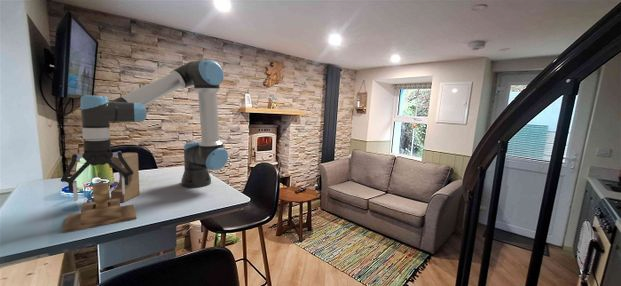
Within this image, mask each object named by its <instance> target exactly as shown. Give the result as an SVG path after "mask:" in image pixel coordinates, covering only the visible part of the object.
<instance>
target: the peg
mask: <svg viewBox="0 0 621 286" xmlns="http://www.w3.org/2000/svg"><path fill="white" fill-rule="evenodd" d="M92 192H93V193H92V195H93V202H96V208H103V207H108V202H107V200H110V194H109V193H110V192H109V183H108V182H98V183H94V184H92Z"/></svg>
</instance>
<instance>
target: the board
mask: <svg viewBox="0 0 621 286" xmlns="http://www.w3.org/2000/svg"><path fill="white" fill-rule="evenodd" d="M107 202H108V207H103V208H96V202H94V201H90V202H84V203H82V206H81V210H80V212H78V213H71V214H67V216H66V218H65V219H66V220H65V222H64V224H63V228H62V233H63V234H64V233H68V232H75V231H79V230H86V229H91V228H96V227H100V226H107V225H110V224H111V225H113V224H117V223H122V222H126V221H127V222H128V221H132V220H137V214H136V210H135V206H134V204H129V205H123V206H122V205H121V202H120V198H118V199H109V200H107Z"/></svg>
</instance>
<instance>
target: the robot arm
mask: <svg viewBox="0 0 621 286" xmlns="http://www.w3.org/2000/svg"><path fill="white" fill-rule="evenodd" d="M224 78H225V75H224V70H223V68H222V66H221V65H220V64H219V63H218V62H217V61H215V60H212V59H202V60H192V61H189V62H186V63H184V64H182V65H180V66H178V67H177V68H174V69H173V70H172V69H171V71H169V74H167V75H165V76H162V77H161V78H158V79H156V80H154V81H152V82H149V83H147V84H145V85H143V86H140V87H139V88H136V89H134V90H132V91H129V92H127V93H125V94H124V95H121V96H120V97H119V96H118V97H117V98H114V99H112V100H109V97H108V96H105V95H89V94H88V95H85V94H84V95H82V96H81V97H80V115H81V124H82V125H81V126H82V127H81V130H82V139H83V142H82V143H83V153H73V154H72V155H71V161H70V163H69V165H68V167H66V169H65V172H64V173H63V175H62V177H61V178H60V182H62V183H67V185H68V191H69V192H70V193H71V192H73V202H77V201H78V199H79V197H78V196H79V195H78V184H77V180H76V179H77V178H78V177H79V176H80V175H81V174H82V173H83V172H85V170H86V169H87V168H88V167H89V166H104V165H106V164H107V165H108V166H109V165H110V166H111V167H113V168H112V169H114V170H115V171H117V172H118V174H119V173H120V174H122V175H123V176H122V193H123V194H125V185H128V176H130V175H133V171H132V169H131V168H130V166H129V165H128V164H127V162H126V161H125V159H124V158H123V157H122V154H123V153H122V151H121V150H118V151H115V152H114V151H113V152H112V146H111V145H112V144H111V143H112V141H111V139H110V138H111V128H110V127H111V124H110V123H140V122H144V121H145V120H146V118H147V108H146V106H148V105H149V104H152V103H153V102H155V101H157V100H159V99H161V98H163V97H165V96H167V95H168V94H171V93H173V92H175V91H177V90H179V89H180V90H184V89H186V88H189V87H192V86H193V89H194V90H195V92H197V96H198V109H199V112H198V113H199V122H200V123H199V124H200V136H201V140H200V141H195V142H186V143H184V145H183V159H184V161H183V163H184V169H183V170H184V172H183V174H182V178H181V180H180V182H181V183H180V185H181V186H182V187H185V188H201V187H206V186H208V185H210V184H212V177H211V175H210V171H219V170H221V169H223V168H224V167H225V166H226V164H227V163H228V161H229V153H228V151H227V150H226V148H224V142H223V141H222V140H221V138H220V126H219V125H220V124H219V122H220V121H219V108H218V91H219V90H220V88H221V87H220V85H221V84H222V83H223V81H224ZM112 156H116V158H119V160H120V161H121V163H122V164H123V165H124V167H125V168H126V169H127V171H128V172H125V171H124V170H123V169H121V168H120V167H119V166H118V165H116V164H115V163H114V162H113V161H112V160H110V159H111V158H112ZM81 159H84V160H85V162H84V163H83V164H82V165H81V166H80V168H78V169H77V170H76V171H75V172H74V173H73V174H72V175H71V176H70V177H68V176H69V175H70V173H71V172H72V170H73V168H74V167H75V165H76V163H77V161H80V160H81ZM209 170H210V171H209Z"/></svg>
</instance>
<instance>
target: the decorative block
mask: <svg viewBox="0 0 621 286" xmlns="http://www.w3.org/2000/svg"><path fill="white" fill-rule="evenodd" d="M122 157H123V158H124V159H125V161H126V162H127V164H128V165H129V166H130V168H131V169H132V171H133V175H130V176H128V185H125V194H123V193H122V176H123V175H122V174H120V173H119V172H118V174H119V175H118V176H119V181H118V183H117V185H116V186H115V188H114V189H113V190H110V198H111V199H118V198H120V203H121V204H123V203H125V202H127V201H129V200H130V199H133V198H135V197H137V196H139V195H140V175H139V173H140V172H139V153H137V152H123V153H122ZM110 160H112V161H113V162H114V163H115V164H116V165H118V166H119V167H120V168H121V169H123V170H124V171H125V172H128V171H127V169H126V168H125V167H124V165H123V164H122V163H121V161H120V160H119V158H116V156H112V158H111V159H110ZM108 167H109V169H114V168H113V167H111V166H110V165H109V164H108ZM111 199H110V200H111Z"/></svg>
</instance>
